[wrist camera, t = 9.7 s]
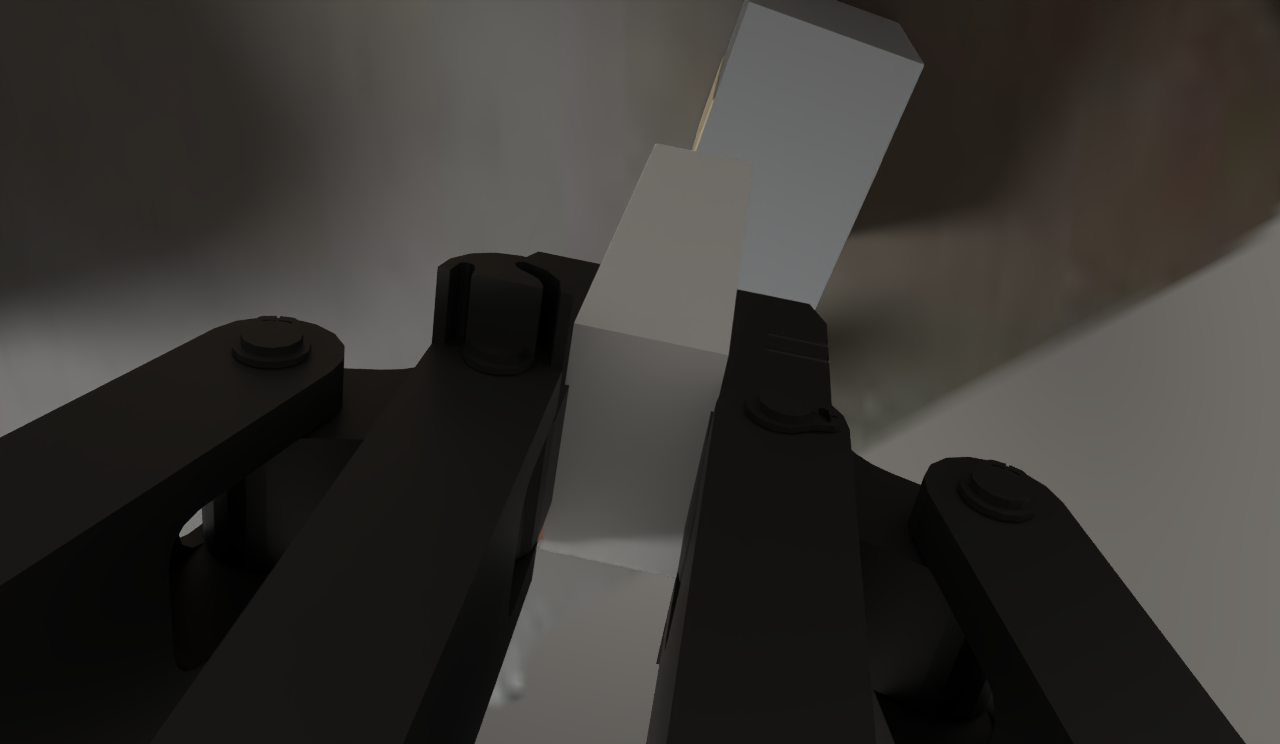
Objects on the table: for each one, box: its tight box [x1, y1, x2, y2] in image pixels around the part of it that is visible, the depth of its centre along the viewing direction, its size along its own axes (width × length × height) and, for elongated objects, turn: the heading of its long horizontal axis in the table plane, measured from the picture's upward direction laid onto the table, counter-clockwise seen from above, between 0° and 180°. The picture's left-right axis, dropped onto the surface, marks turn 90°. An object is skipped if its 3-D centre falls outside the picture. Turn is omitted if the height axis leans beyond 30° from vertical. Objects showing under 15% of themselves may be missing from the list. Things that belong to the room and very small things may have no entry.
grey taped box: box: [692, 0, 924, 310], centre depth 33 cm, size 5×8×7 cm, turn 162°
